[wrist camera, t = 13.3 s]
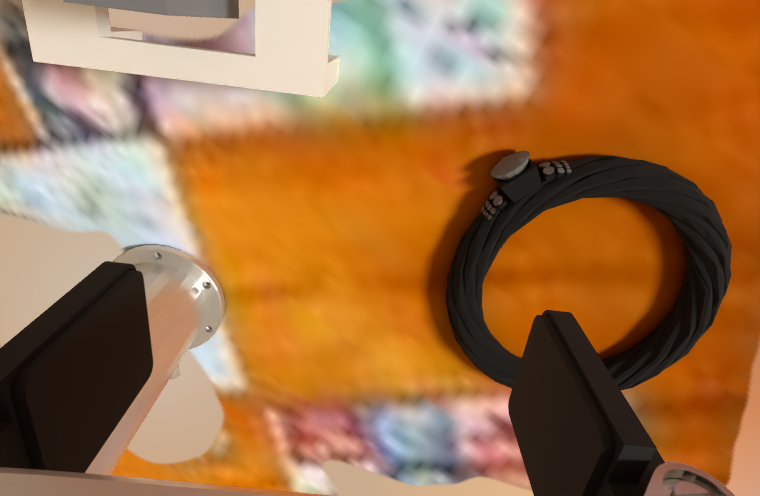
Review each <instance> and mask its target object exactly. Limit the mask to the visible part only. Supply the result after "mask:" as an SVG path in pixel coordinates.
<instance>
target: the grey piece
mask: <svg viewBox="0 0 760 496" xmlns="http://www.w3.org/2000/svg"><path fill="white" fill-rule="evenodd" d="M63 2H67V3H75V4H82V5H90V6H98V7H106V8H114V9H122V10H130V11H138V12H146V13H153V14H162V15H173V16H195V17H215V18H216V17H217V18H236V19H239V11H238V10H239V9H238V0H63Z"/></svg>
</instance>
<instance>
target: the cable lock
mask: <svg viewBox="0 0 760 496" xmlns="http://www.w3.org/2000/svg"><path fill="white" fill-rule="evenodd" d="M537 166H538V167H537ZM490 176H492V177H494V179H495V180H496V182H497V183H498V185H499V186H500V188H501V189H502V190H503V191H504V193H502V194H501V193H500V191H497V189H496V190H495V191H494V192H493V193H492V194H491V195H490V196H489V197H490V199H489V198H488V199H487V201H486V202H485V206H483V207H482V209H481V210H482V211H481V212H482V213H481V214H480V215H479V216H478V217H477V218H476V219H475V220H474V222H473V224H472V225H471V226H470V228H469V229H468V231H467V232H466V233H465V235H464V236H463V238H462V239H461V241H460V243H459V246H458V248H457V250H456V253H455V256H454V258H453V261H452V266H451V271H450V274H449V276H448V280H447V293H446V304H447V309H448V315H449V320H450V324H451V327H452V330H453V333H454V335H455V338H456V341H457V342H458V343H459V345H460V346H461V348H462V349H463V351H464V352H465V354H466V355H467V356H468V357H469V359H470V360H471V361H472V362H473V364H474V365H475V366H476V367H477V368H478V369H479V370H480V371H482V372H483V373H485V374H486V375H487V376H489V377H490V378H491V379H493V380H494V381H496V382H498V383H501V384H503V385H505V386H507V387H510V388H512V389H513V385H514V382H515V379H516V376H517V373H518V369H519V366H520V363H521V360H522V359H521V358H519V357H516V356H514V355H513V354H512V353H510V352H509V351H508V350H506V349H505V348H504V347H503V346H502V345H501V344H500V343H499V342H498V341H497V340H496V339H495V338H494V337H493V335H492V334H491V333H490V331H489V329H488V327H487V325H486V323H485V321H484V317H483V310H482V284H483V281H484V277H485V276H486V274H487V272H488V270H489V268H490V266H491V264H492V262H493V261H494V259H495V257H496V255H497V253H498V251H499V250H500V248H501V247H502V246H503V244H504V243H505V242H506V240H507V239H508V238H509V237H510V236H511V235H512V234H513V233H515V232H516V231H517V230H519V229H520V228H521V227H523V226H524V225H526V224H527V223H528V222H530V221H531V220H532V219H534V218H535V217H536V216H538V215H539V214H540V213H542V212H543V211H545V210H547V209H550V208H554V207H557V206H560V205H563V204H566V203H569V202H572V201H575V200H578V199H581V198H596V197H624V198H627V199H630V200H633V201H637V202H640V203H643V204H647V205H650V206H652V207H653V208H655V209H656V210H658V211H659V212H661V213H662V214H663V215H665V216H666V217H668V218H669V219H670V220H671V222H672V223H673V225H674V226H675V228H676V230H677V231H678V233H679V235H680V236H681V238H682V240H683V241H684V243H685V252H686V260H687V270H686V278H685V282H684V285H683V289H682V292H681V294H680V296H679V298H678V300H677V302H676V304H675V306H674V308H673V309H672V311H671V312H670V314H669V315H668V317H667V318H666V320H665V321H664V323H663V324H661V325H660V326H659V327H658V328H657V329H656V330H654V331H653V332H652V333H651V334H650V335H649V336H648V337H646V338H645V339H644V340H643V341H642V342H641V343H640V344H638V345H637V346H636V347H634V348H631V349H629V350H627V351H625V352H623V353H621V354H618V355H616V356H614V357H612V358H610V359H608V360H605V361H602V362H603V364H604V365H605V367H606V368H607V370H608V372H609V373H610V375H611V376H612V378H613V379H614V381H615V383H616V384H617V386H618V387H619V389H620V390H624V389H629V388H633V387H635V386H637V385H639V384H641V383H643V382H645V381H647V380H648V379H650V378H652V377H654V376H656V375H658V374H659V373H661V372H662V371H663V370H664V369H666V368H668V367H670V366H671V365H673V364H674V363H675V362H677V361H678V360H680V359H681V358H682V357H684V356H685V355H687V354H688V353H689V351H690V350H691V349H692V347H693V346H694V345H695V343H696V342H697V341H698V339H699V338H700V337H701V336H702V335H703V334H704V333H705V332H706V331H707V330H708V329H709V327H710V326H711V325H712V323H713V321H714V318H715V316H716V314H717V311H718V309H719V306H720V304H721V302H722V299H723V298H724V296H725V294H726V291H727V288H728V284H729V281H730V277H731V270H730V262H731V248H732V246H731V243H730V240H729V238H728V235H727V232H726V229H725V227H724V225H723V224H722V219H721V217H720V215H719V213H718V211H717V208H716V206H715V204H714V202H713V201H712V200H711V199H709V198H708V197H707V196H705V195H704V194H703V193H702V192H701V190H700V189H699V188H698V187H697V186H696V185H695V183H693V182H692V181H690V180H688V179H686V178H684V177H682V176H681V175H679V174H677V173H675V172H673V171H671V170H669V169H668V168H667V167H665V166H661V165H658V164H654V163H651V162H647V161H644V160H634V159H628V158H622V157H617V156H599V157H586V158H582V159H579V160H576V161H571V162H567V161H564V160H561V161H558V162H557V161H549V162H543V163H539V164H537V165H535V164H534V163H533V162H532V161H531V160H530V159H529V152H527V151H520V152H517V153H514V154H511V155H508V156H505V157H503V158H502V159H501V160H500V161H499V162H498V163H497V164H496V165H495V167H494V168H493V169H492V170H491V171H490Z"/></svg>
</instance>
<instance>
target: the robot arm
mask: <svg viewBox="0 0 760 496" xmlns="http://www.w3.org/2000/svg"><path fill="white" fill-rule="evenodd" d="M224 311H225V300H224V296H223V292H222V289H221V287H220V285H219V283H218V281H217V279H216V278H215V277H214V275H213V274H212V272H211V271H210V270H209V269H208V268H207V267H206V266H205V265H204V264H203V263H201V262H200V261H199V260H197V259H196V258H194V257H193V256H191V255H189V254H187V253H185V252H183V251H181V250H178V249H175V248H172V247H167V246H161V245H144V246H139V247H135V248H132V249H130V250H127V251H125V252H124V253H122V254H121V255H120V256H118V257H117V258H116V259H115V260H114V261H113V262H109V261H107V262H104V263H102V264H101V265H100V266H99V267H97V268H96V269H95V270H94V271H93V272H91V273H90V274H89V275H88V276H87V277H85V278H84V279H83V280H82V281H81V282H79V283H78V284H77V285H76V286H75V287H74V288H72V289H71V290H70V291H69V292H67V293H66V294H65V295H64V296H63V297H61V298H60V299H59V300H58V301H57V302H56V303H54V304H53V305H52V306H51V307H49V308H48V309H47V310H46V311H45V312H43V314H41V315H40V316H39V317H37V318H36V319H35V320H34V321H33V322H31V323H30V324H29V325H28V326H27V327H25V328H24V329H23V330H22V331H21V332H20V333H18V334H17V335H16V336H15V337H13V338H12V339H11V340H10V341H9V342H7V343H6V344H5V345H4V346H3V347H1V348H0V496H329V495H319V494H308V493H298V492H287V491H277V490H266V489H256V488H245V487H235V486H224V485H213V484H202V483H191V482H179V481H168V480H157V479H146V478H135V477H124V476H113V475H111V474H112V472H113V470H114V468H115V467H116V465H117V463H118V462H119V460H120V458H121V457H122V455H123V453H124V451H125V450H126V448H127V447H128V445H129V443H130V442H131V440H132V438H133V437H134V435H135V433H136V432H137V430H138V429H139V427H140V425H141V424H142V422H143V421H144V419H145V418H146V416H147V414H148V413H149V411H150V410H151V408H152V406H153V405H154V403H155V401H156V400H157V398H158V397H159V395H160V393H161V392H162V390H163V388H164V387H165V385H166V384H167V382H168V380H169V379H175V378H177V377H178V376H179V374H180V373H179V363H180V361H181V360H182V358H183V356H184V355H185V353H186V352H187V350H188V349H192V348H194V347H197V346H200V345H201V344H203V343H205V342H206V341H208V340H209V339H210V338H211V337H212V336H213V335H214V334H215V332H216V331H217V329H218V328H219V326H220V324H221V322H222V320H223V316H224ZM508 409H509V416H510V419H511V422H512V425H513V429H514V432H515V435H516V438H517V442H518V445H519V448H520V452H521V455H522V458H523V461H524V465H525V468H526V471H527V474H528V478H529V481H530V484H531V487H532V491H533V494H534V496H734V495H733V493H732V492H731V491H730V490H729V489H727V488H726V487H725V486H724V485H723V484H722V483H721V482H720V481H718V480H716V479H715V478H713V477H712V476H710V475H709V474H707V473H706V472H704V471H701V470H699V469H697V468H695V467H693V466H690V465H686V464H682V463H677V462H667V463H665V462H664V460H663V459H662V457H661V456H660V454H659V452H658V451H657V448H656V446H655V445H654V443H653V441H652V440H651V438H650V437H649V435H648V433H647V432H646V430H645V429H644V427H643V425H642V424H641V422H640V421H639V419H638V418H637V416H636V414H635V413H634V411H633V410H632V408H631V406H630V405H629V403H628V402H627V400H626V398H625V397H624V395H623V394H622V392H621V391H620V389H619V387H618V386H617V384H616V383H615V381H614V379H613V378H612V376H611V375H610V373H609V372H608V370H607V368H606V367H605V365H604V364H603V362H602V360H601V359H600V357H599V356H598V354H597V352H596V351H595V349H594V348H593V346H592V345H591V343H590V341H589V340H588V338H587V337H586V335H585V333H584V332H583V330H582V329H581V327H580V325H579V324H578V322H577V321H576V319H575V318H574V316H573V315H572V314H571V313H569V312H561V311H552V310H546V311H544V312H543V314H542V315H537V316H536V317H535V319H534V321H533V324H532V328H531V331H530V334H529V337H528V340H527V344H526V347H525V350H524V353H523V357H522V360H521V363H520V366H519V369H518V373H517V376H516V379H515V382H514V385H513V389H512V392H511V395H510V398H509V405H508Z"/></svg>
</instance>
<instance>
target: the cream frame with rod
mask: <svg viewBox="0 0 760 496" xmlns="http://www.w3.org/2000/svg"><path fill="white" fill-rule="evenodd" d="M331 2H332V0H256V4H255V55H254V54H246V53H238V52H231V51H223V50H215V49H207V48H199V47H191V46H183V45H175V44H167V43H160V42H152V41H144V40H143V38H142V31H139V30H131V29H123V28H115V27H110V21H109V13H108V8H106V7H98V6H90V5H82V4H75V3H67V2H63V0H22V4H23V9H24V15H25V20H26V25H27V30H28V36H29V41H30V46H31V51H32V57H33V61H34V62H42V63H50V64H58V65H66V66H74V67H82V68H91V69H99V70H107V71H115V72H123V73H131V74H139V75H147V76H155V77H163V78H171V79H179V80H187V81H195V82H203V83H211V84H219V85H227V86H235V87H243V88H251V89H259V90H268V91H276V92H284V93H292V94H300V95H308V96H316V97H324V96H325V94H326V93H327V92H328V91H329V90H330V89H331V88H332V87H333V86H334V85H335V83H336V82H337V81H338V71H339V58H340V56H335V55H328V49H329V33H330V18H331Z"/></svg>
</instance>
